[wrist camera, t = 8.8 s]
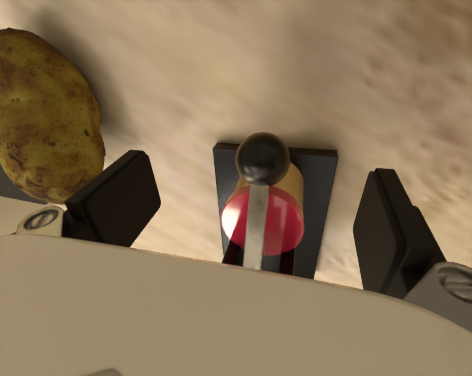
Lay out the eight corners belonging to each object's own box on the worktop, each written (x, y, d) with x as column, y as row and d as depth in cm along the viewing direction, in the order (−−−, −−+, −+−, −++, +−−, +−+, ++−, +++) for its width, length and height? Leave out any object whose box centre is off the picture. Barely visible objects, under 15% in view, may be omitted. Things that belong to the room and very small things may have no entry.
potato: (105, 33, 19) (4, 43, 13) (133, 175, 27) (77, 226, 20) (15, 24, 21) (-118, 28, 14) (65, 162, 28) (-7, 205, 22)
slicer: (216, 142, 22) (124, 268, 11) (337, 149, 20) (370, 315, 9) (227, 258, 31) (179, 396, 20) (313, 272, 28) (315, 436, 17)
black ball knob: (243, 135, 17) (232, 126, 14) (293, 138, 16) (292, 129, 13) (226, 337, 18) (212, 372, 15) (272, 348, 17) (267, 387, 14)
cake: (236, 152, 21) (217, 187, 17) (309, 156, 20) (309, 197, 15) (239, 207, 24) (223, 249, 20) (301, 214, 23) (299, 261, 19)
